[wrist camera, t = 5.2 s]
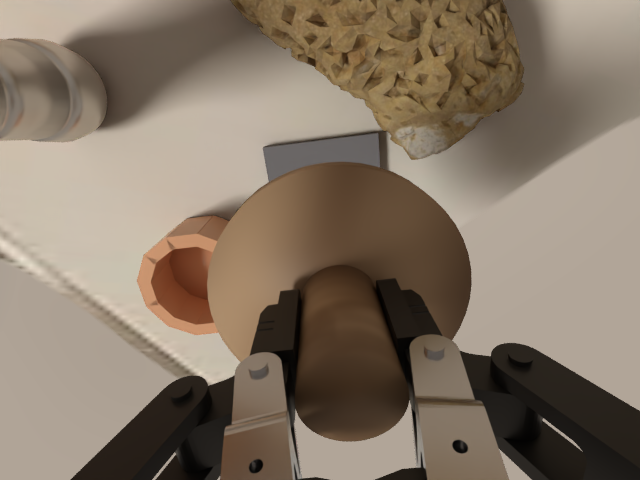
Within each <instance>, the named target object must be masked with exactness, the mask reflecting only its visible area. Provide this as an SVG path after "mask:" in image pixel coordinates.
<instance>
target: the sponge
mask: <svg viewBox="0 0 640 480" xmlns="http://www.w3.org/2000/svg"><path fill="white" fill-rule="evenodd" d="M230 1H231V2H232V3H233V5H234V6H235V7H236V8H237V9H238V10H239V11H240V12H241V13H242V14H243V15H244V16H245V17H246V18H247V19H248V20H249V21H250V22H252V23H254V24H257V25H259V28H260V30H261V32H262V33H263V34H264V35H266V36H268V37H269V38H270V39H271V40H272V41H274V42H275V43H276V44H277V45H278V46H280V47H282V48H284V49H286V48H291V49H292V51H291V54H292V57H294V58H295V59H297V60H298V61H302V62H305V63H307V64H310V65H312V66H314V67H315V69H316V70H318V71H319V72H321V73H322V74H323V75H325V76H326V77H327V78H328V79H329V80H330V81H331V82H332V84H333V85H338V86H339V87H340V89H341V90H344V91H348V92H349V93H351V94H352V95H353V96H354V97H355V98H360V99H364V100H365V103H366V106H367V107H369V108H370V109H371V110H372V111H373V114H374V117H375V119H376V121H377V123H378V124H379V126H380V127H381V128H382V130H383V131H388V132H389V133H390V134H391V136H392V137H391V140H392V141H393V142H394V143H396V144H398V145H400V146H402V147H403V148H404V149H405V151H406V152H407V154H408V155H409V157H410V158H411V160H416V159H421V158H425V157H427V156H430V155H432V154H438V153H440V152H442V151H445V150H447V149H448V148H449V147H451V146H452V145H453V144H455V143H456V142H458V141H459V140H460V139H462V138H463V137H464V135H465V134H467V133H468V132H470V131H471V130H473V129H474V128H475V126H476V125H477V124H478V122H479V121H480V119H483V118H484V117H487V116H490V115H491V114H492V113H494V112H495V111H498V112H499V111H501V110H502V109H504V108H505V107H507V106H509V105H510V104H512V103H513V102H514V101H515V100H516V99H517V98H518V96H519V95H520V94H521V93H522V89H523V87H524V83H522V82H521V79H522V76H523V73H524V67H523V65H522V63H521V61H520V53H519V47H518V44H517V41H516V37H515V34H514V30H513V26H512V23H511V21H510V19H509V17H508V14H507V11H506V7H505V5H504V3H503V1H502V0H230Z"/></svg>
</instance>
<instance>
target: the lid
mask: <svg viewBox="0 0 640 480" xmlns="http://www.w3.org/2000/svg"><path fill="white" fill-rule="evenodd" d="M391 278H396V280H397V282H398V284H399V286H400V289H401V290H409V289H412V290H413V291H415V292H416V293H417V294H419V295H420V296H421V297H422V299H423V301H424V303H425V305H426V306H427V308H428V310H429V313H430V314H431V315H432V317H433V319H434V321H435V323H436V324H437V326H438V328H439V330H440V332H441V334H442V335H443V337H446V338H448V339H450V340H451V341H452V339H453V338H454V336H455V334H456V333H457V331H458V330H459V328H460V326H461V323H462V321H463V319H464V316H465V314H466V311H467V307H468V303H469V299H470V292H471V266H470V261H469V255H468V252H467V249H466V246H465V243H464V240H463V238H462V236H461V234H460V232H459V230H458V228H457V227H456V225H455V223H454V222H453V221H452V219H451V218H450V217H449V215H448V214H447V213H446V211H445V210H444V209H443V208H442V207H441V206H440V205H439V204H438V203H437V202H436V201H435V200H434V199H433V198H431V197H430V196H429V195H428V194H426V193H425V192H424V191H423V190H421V189H420V188H419V187H417V186H416V185H414V184H413V183H412V182H410V181H409V180H407V179H405V178H403V177H401V176H399V175H397V174H396V173H394V172H391V171H388V170H385V169H382V168H380V167H377V166H372V165H367V164H362V163H354V162H326V163H319V164H314V165H309V166H305V167H302V168H299V169H296V170H293V171H290V172H287V173H285V174H283V175H281V176H279V177H277V178H275V179H273V180H271V181H270V182H268V183H267V184H266V185H264V186H263V187H261V188H260V189H258V190H257V191H256V192H255V193H254V194H253V195H252V196H250V197H249V198H248V199H247V200H246V201H245V202H244V203H243V205H242V206H241V207H240V208H239V209H238V211H237V212H236V213H235V214H234V216H233V217H232V218H231V220H230V221H229V222H228V224H227V226H226V227H225V229H224V230H223V232H222V234H221V235H220V237H219V239H218V241H217V244H216V246H215V248H214V251H213V253H212V257H211V261H210V265H209V270H208V280H207V290H208V302H209V306H210V311H211V315H212V318H213V320H214V323H215V326H216V328H217V330H218V332H219V334H220V336H221V338H222V340H223V341H224V342H225V344H226V345H227V347H228V348H229V349H230V351H231V352H232V353H233V354H234V355H235V356H236V357H237V359H238V360H239V361H240V362H242V361H243V360H244V359H245V358H247V357H249V356H250V352H251V348H252V344H253V340H254V336H255V333H256V329H257V325H258V321H259V317H260V313H261V312H262V311H263V310H264V309H265V308H266V307H267V306H268V305H273V304H278V300H279V295H280V291H284V290H293V289H299V290H300V293H301V299H302V302H301V316H300V330H299V344H298V359H297V373H296V387H295V408H296V411H297V413H298V416H299V417H300V419H301V420H302V422H303V423H304V424H305V425H306V426H307V427H308V428H309V429H311V430H312V431H313V432H315V433H317V434H319V435H321V436H323V437H326V438H329V439H333V440H338V441H361V440H366V439H370V438H373V437H376V436H379V435H380V434H383V433H385V432H386V431H388V430H390V429H391V428H392V427H393V426H395V425H396V424H397V423H398V422H399V421H400V419H401V418H402V417H403V415H404V413H405V412H406V409H407V407H408V403H409V388H408V385H407V382H406V379H405V376H404V373H403V370H402V366H401V363H400V360H399V358H398V355H397V352H396V349H395V346H394V343H393V340H392V337H391V334H390V330H389V327H388V324H387V321H386V318H385V315H384V312H383V309H382V306H381V303H380V300H379V297H378V294H377V291H376V280H382V279H391Z"/></svg>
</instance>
